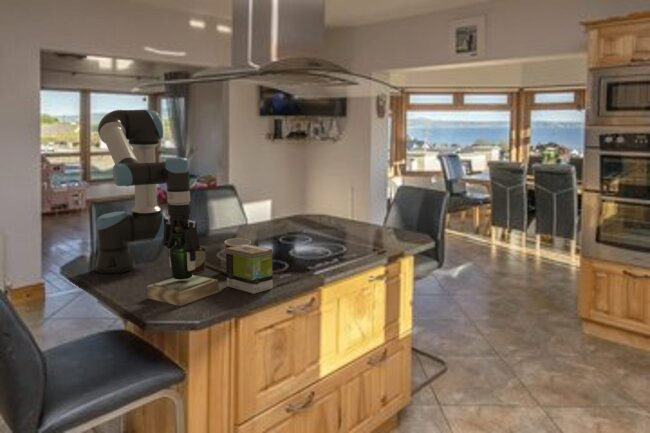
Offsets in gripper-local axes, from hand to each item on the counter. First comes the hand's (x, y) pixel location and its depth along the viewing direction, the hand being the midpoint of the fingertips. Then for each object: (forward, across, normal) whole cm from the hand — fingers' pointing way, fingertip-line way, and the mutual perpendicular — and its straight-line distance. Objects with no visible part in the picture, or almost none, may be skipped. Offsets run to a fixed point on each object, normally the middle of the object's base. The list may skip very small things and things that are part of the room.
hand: (182, 268), depth 191 cm
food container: (+10, -20, +23) cm, 32 cm away
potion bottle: (+3, 0, 0) cm, 3 cm away
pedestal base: (+10, 0, 0) cm, 10 cm away
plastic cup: (+10, -6, +36) cm, 38 cm away
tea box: (+10, +14, +19) cm, 26 cm away
